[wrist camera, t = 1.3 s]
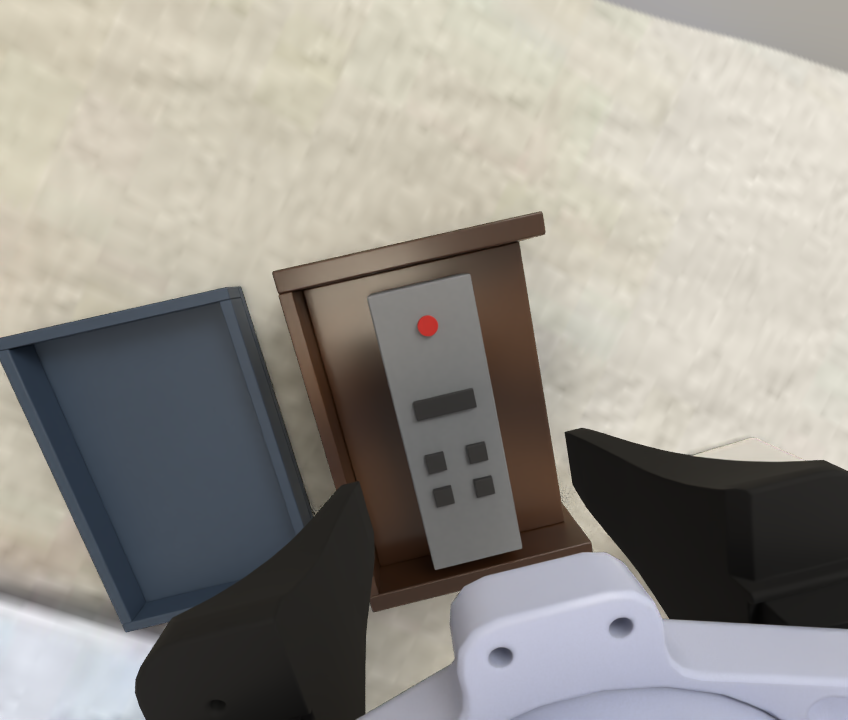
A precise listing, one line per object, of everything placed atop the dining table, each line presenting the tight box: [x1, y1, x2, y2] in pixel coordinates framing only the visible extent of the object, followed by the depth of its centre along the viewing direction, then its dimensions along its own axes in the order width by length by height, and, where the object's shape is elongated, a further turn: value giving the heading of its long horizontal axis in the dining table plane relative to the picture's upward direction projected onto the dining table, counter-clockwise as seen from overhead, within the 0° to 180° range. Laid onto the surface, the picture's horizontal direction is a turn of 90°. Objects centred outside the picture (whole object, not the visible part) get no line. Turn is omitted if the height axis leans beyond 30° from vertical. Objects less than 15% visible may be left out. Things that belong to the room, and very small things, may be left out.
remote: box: [367, 274, 522, 570], centre depth 20 cm, size 14×5×3 cm, turn 12°
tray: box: [0, 286, 313, 632], centre depth 23 cm, size 18×12×2 cm, turn 12°
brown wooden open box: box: [272, 212, 593, 612], centre depth 22 cm, size 18×12×5 cm
